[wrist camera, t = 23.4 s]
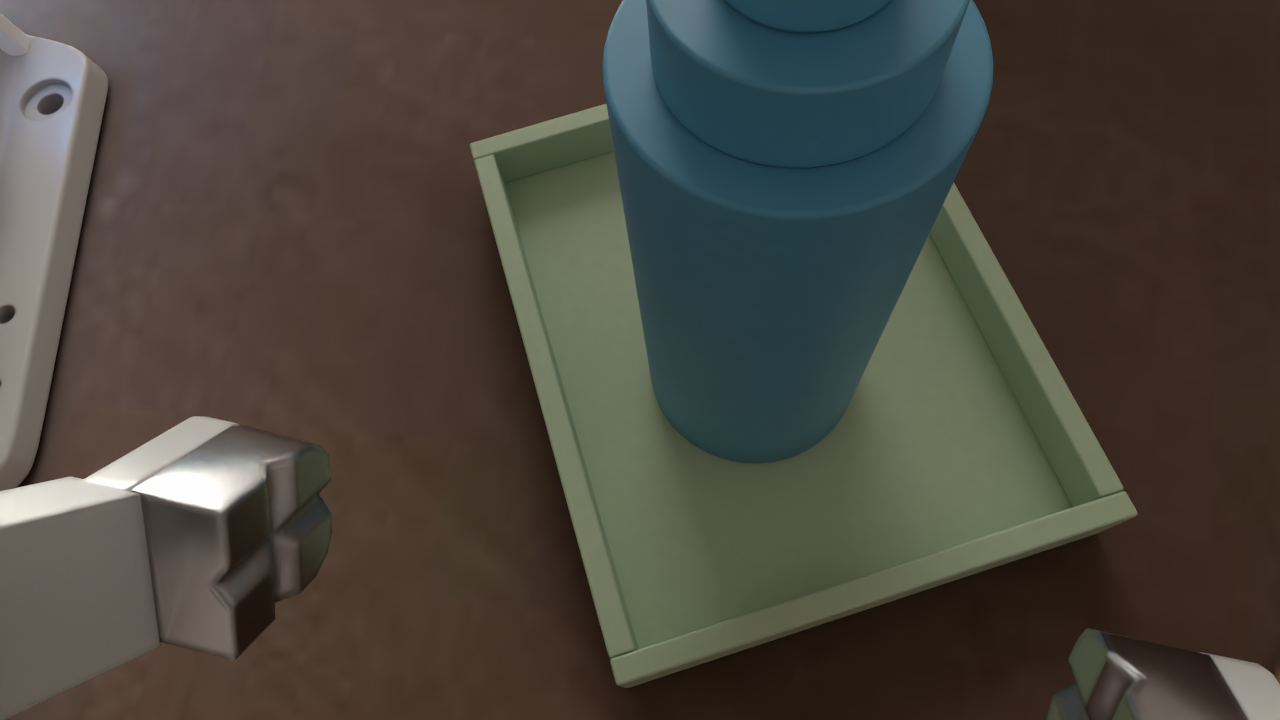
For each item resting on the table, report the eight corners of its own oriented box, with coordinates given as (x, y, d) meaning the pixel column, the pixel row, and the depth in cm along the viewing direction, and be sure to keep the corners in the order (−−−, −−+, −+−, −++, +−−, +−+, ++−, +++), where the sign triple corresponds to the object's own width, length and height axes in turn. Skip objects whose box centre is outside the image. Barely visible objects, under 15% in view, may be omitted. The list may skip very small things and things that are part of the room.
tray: (1099, 533, 20) (1140, 514, 18) (625, 689, 20) (616, 686, 18) (856, 76, 26) (868, 26, 24) (486, 185, 26) (468, 143, 24)
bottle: (741, 507, 21) (831, 4, 6) (610, 354, 23) (432, -314, 8) (898, 377, 22) (1306, -323, 7) (760, 242, 24) (852, -534, 9)
